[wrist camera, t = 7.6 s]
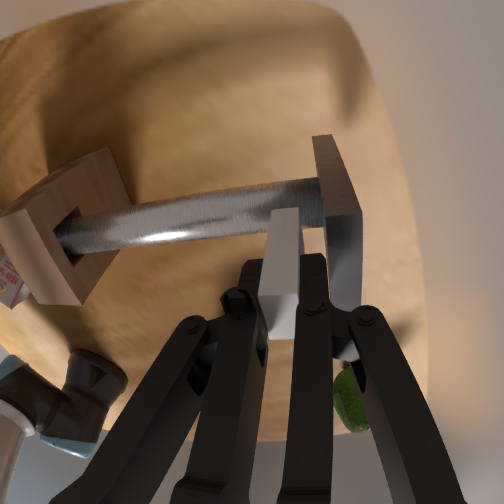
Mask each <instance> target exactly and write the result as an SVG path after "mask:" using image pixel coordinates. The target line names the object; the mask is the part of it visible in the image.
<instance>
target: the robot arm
mask: <svg viewBox="0 0 504 504" xmlns="http://www.w3.org/2000/svg"><path fill="white" fill-rule="evenodd" d="M220 301H221V303H222V306H223V309H224V311H225V315H223V316H221V317H219V318H216V319H212V320H209V321H206V320H205V319H204V317H201V316H199V315H193V316H189V317H187V318H185V319H183V320H182V321H181V322H180V323H179V324H178V326H177V327H176V329H175V330H174V332H173V333H172V335H171V336H170V338H169V340H168V341H167V343H166V344H165V346H164V347H163V349H162V350H161V352H160V353H159V355H158V356H157V358H156V359H155V361H154V362H153V364H152V365H151V367H150V369H149V370H148V372H147V373H146V375H145V376H144V378H143V379H142V381H141V382H140V384H139V386H138V387H137V389H136V390H135V392H134V393H133V395H132V396H131V398H130V400H129V401H128V403H127V404H126V406H125V407H124V409H123V411H122V412H121V414H120V415H119V417H118V418H117V420H116V422H115V423H114V425H113V426H112V428H111V430H110V431H109V433H108V434H107V436H106V438H105V439H104V441H103V442H102V444H101V446H100V447H99V449H98V451H97V452H96V454H95V455H94V457H93V459H92V460H91V462H90V463H89V465H88V467H87V468H86V470H85V472H84V473H83V475H82V476H81V477H80V478H78V479H77V480H76V481H74V482H73V483H72V484H71V485H69V486H68V487H67V488H66V489H64V490H63V491H62V492H60V493H59V494H58V495H56V496H55V497H54V498H52V499H51V501H50V502H49V504H149V503H150V501H151V500H152V498H153V496H154V495H155V493H156V491H157V489H158V488H159V486H160V484H161V482H162V481H163V479H164V477H165V475H166V473H167V472H168V470H169V468H170V466H171V464H172V462H173V460H174V459H175V457H176V455H177V453H178V451H179V449H180V448H181V446H182V444H183V442H184V440H185V438H186V437H187V435H188V433H189V431H190V429H191V427H192V425H193V423H194V422H195V420H196V418H197V416H198V414H199V412H200V410H201V412H200V416H199V420H198V424H197V428H196V432H195V436H194V440H193V445H192V449H191V453H190V457H189V461H188V465H187V469H186V473H185V476H184V477H183V478H182V479H181V480H179V481H178V482H177V483H176V485H175V486H174V489H173V492H172V495H171V499H170V503H169V504H250V502H249V488H250V482H251V475H252V469H253V462H254V455H255V449H256V442H257V435H258V427H259V420H260V413H261V405H262V398H263V390H264V382H265V375H266V367H267V358H268V345H267V336H269V340H278V339H294V354H293V370H292V384H291V397H290V409H289V421H288V432H287V442H286V453H285V461H284V470H283V479H282V486H281V490H280V493H279V495H278V498H277V504H330V502H331V481H332V459H333V457H332V456H333V358H335V359H340V360H345V361H347V362H348V365H349V368H350V371H351V373H352V376H353V379H354V382H355V384H356V387H357V390H358V393H359V396H360V399H361V402H362V404H363V407H364V410H365V413H366V416H367V419H368V422H369V425H370V428H371V431H372V434H373V437H374V440H375V443H376V447H377V450H378V453H379V456H380V459H381V462H382V465H383V469H384V472H385V476H386V479H387V482H388V486H389V489H390V492H391V496H392V499H393V503H394V504H467V502H466V501H465V500H464V498H463V495H462V492H461V489H460V486H459V483H458V480H457V477H456V474H455V472H454V469H453V466H452V463H451V461H450V458H449V456H448V453H447V450H446V448H445V445H444V443H443V440H442V438H441V435H440V433H439V431H438V428H437V426H436V424H435V421H434V419H433V416H432V414H431V412H430V409H429V407H428V405H427V403H426V400H425V398H424V396H423V394H422V392H421V390H420V387H419V385H418V383H417V381H416V379H415V377H414V375H413V373H412V370H411V368H410V366H409V364H408V362H407V360H406V358H405V356H404V354H403V352H402V350H401V348H400V346H399V344H398V342H397V340H396V338H395V337H394V335H393V333H392V331H391V329H390V327H389V325H388V323H387V321H386V319H385V318H384V316H383V314H382V313H381V311H380V310H379V309H378V308H376V307H374V306H369V305H363V306H359V307H357V308H354V309H353V310H352V311H351V312H350V311H344V310H341V309H338V308H336V307H335V306H334V305H333V304H332V303H331V301H330V298H329V288H328V276H327V264H326V259H325V257H324V256H323V255H322V254H321V253H314V254H305V252H304V241H303V233H302V226H301V219H300V212H299V207H293V208H284V209H275V210H272V211H271V217H270V223H269V229H268V235H267V242H266V248H265V254H264V259H253V260H248V261H247V262H246V263H245V264H244V266H243V267H242V271H241V276H240V279H239V283H238V287H233V288H231V289H229V290H227V291H226V292H224V293H223V294H222V296H221V298H220ZM127 384H128V380H127V378H126V376H125V375H124V374H123V372H122V371H121V370H119V369H118V368H117V367H116V366H115V365H113V364H112V363H110V362H109V361H107V360H106V359H104V358H102V357H100V356H98V355H96V354H94V353H91V352H89V351H85V350H74V351H73V352H72V354H71V355H70V357H69V360H68V369H67V375H66V381H65V384H64V386H63V388H62V390H60V389H59V388H57V387H56V386H55V385H53V384H52V383H51V382H49V381H48V380H46V379H45V378H44V377H43V376H41V375H40V374H39V373H37V372H36V371H35V370H34V369H32V368H31V367H30V366H29V364H28V363H25V362H24V361H22V360H21V359H20V358H18V357H17V356H15V355H9V356H7V357H6V358H5V359H4V360H3V361H2V363H1V364H0V504H6V502H7V498H8V494H9V489H10V485H11V482H12V478H13V474H14V470H15V467H16V463H17V460H18V457H19V454H20V450H21V447H22V444H23V441H24V438H25V437H27V436H31V435H33V434H34V433H35V430H36V431H38V432H40V433H41V435H40V440H41V441H43V442H45V443H47V444H49V445H51V446H53V447H55V448H58V449H60V450H62V451H65V452H67V453H70V454H72V455H75V456H78V457H81V458H89V457H90V456H91V455H92V452H93V450H94V448H95V445H97V441H98V438H99V435H100V432H101V430H102V427H103V424H104V421H105V419H106V416H107V413H108V411H109V409H110V407H111V405H112V404H113V403H114V402H115V401H116V399H117V398H118V397H119V395H120V394H122V393H123V392H124V391H125V389H126V386H127Z"/></svg>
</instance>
